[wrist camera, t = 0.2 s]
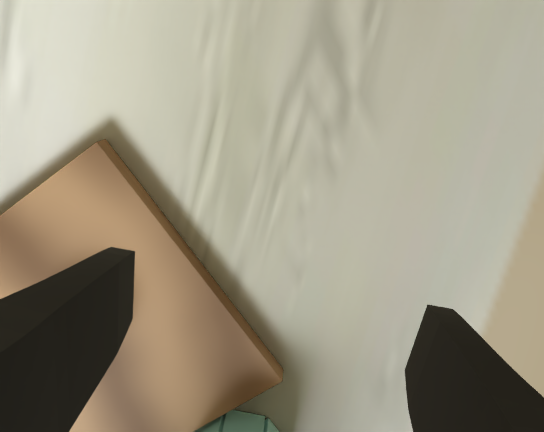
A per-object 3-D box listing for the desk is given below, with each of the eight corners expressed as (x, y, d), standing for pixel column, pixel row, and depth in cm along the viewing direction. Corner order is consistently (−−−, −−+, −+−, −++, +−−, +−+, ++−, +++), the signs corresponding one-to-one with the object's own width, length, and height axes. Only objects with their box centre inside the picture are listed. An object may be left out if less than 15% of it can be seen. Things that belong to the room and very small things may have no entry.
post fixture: (78, 486, 27) (42, 552, 24) (-102, 295, 25) (-176, 337, 21) (283, 369, 24) (279, 424, 21) (105, 138, 22) (63, 153, 18)
